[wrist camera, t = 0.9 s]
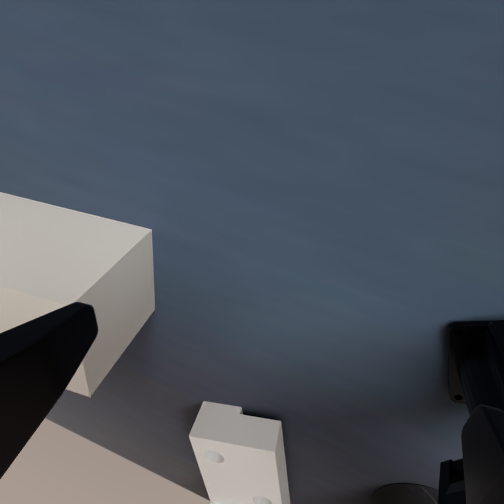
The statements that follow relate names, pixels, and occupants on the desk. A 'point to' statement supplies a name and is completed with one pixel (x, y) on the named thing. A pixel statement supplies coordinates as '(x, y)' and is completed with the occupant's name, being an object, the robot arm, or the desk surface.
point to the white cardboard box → (75, 276)
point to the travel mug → (405, 494)
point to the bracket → (240, 456)
